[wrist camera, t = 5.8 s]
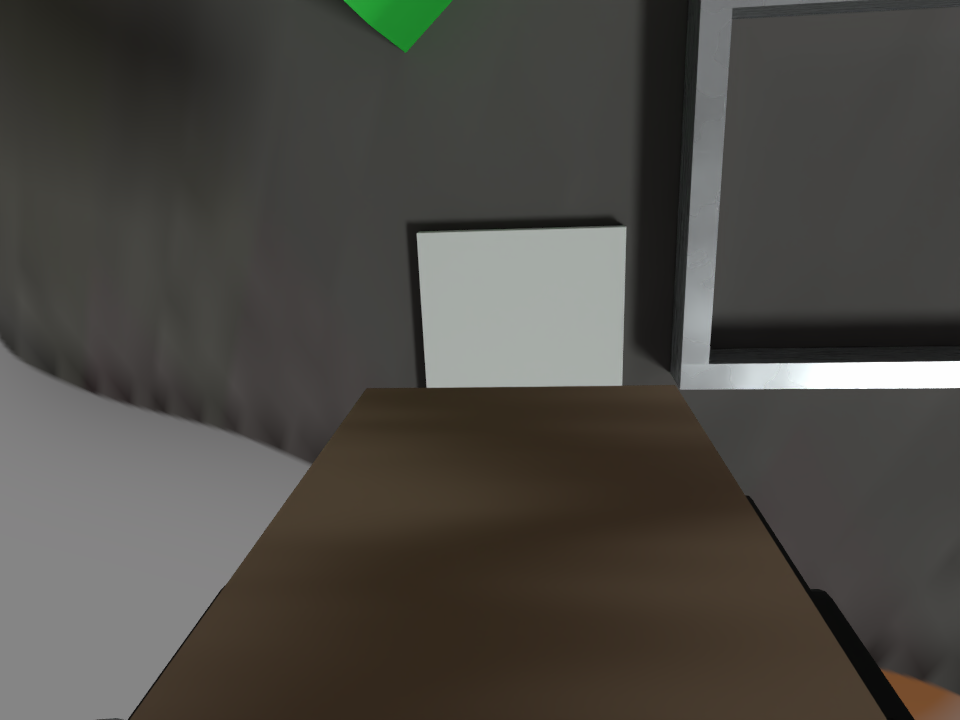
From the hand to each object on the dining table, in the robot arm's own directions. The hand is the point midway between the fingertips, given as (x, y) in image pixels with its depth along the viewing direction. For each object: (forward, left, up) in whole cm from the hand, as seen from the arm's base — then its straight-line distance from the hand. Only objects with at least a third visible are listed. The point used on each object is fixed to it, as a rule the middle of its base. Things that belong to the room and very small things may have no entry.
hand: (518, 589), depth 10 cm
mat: (0, 0, -18) cm, 18 cm away
